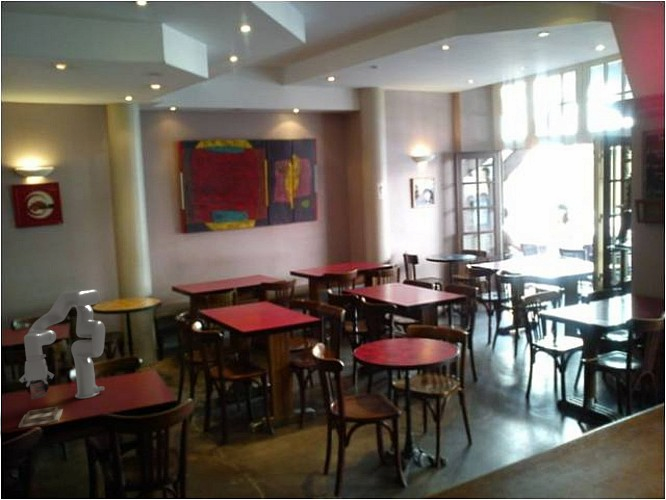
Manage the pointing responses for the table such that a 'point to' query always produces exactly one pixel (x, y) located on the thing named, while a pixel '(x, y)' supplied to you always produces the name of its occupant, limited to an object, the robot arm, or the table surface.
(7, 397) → the table surface
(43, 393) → the lighter
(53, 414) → the square beige tray
